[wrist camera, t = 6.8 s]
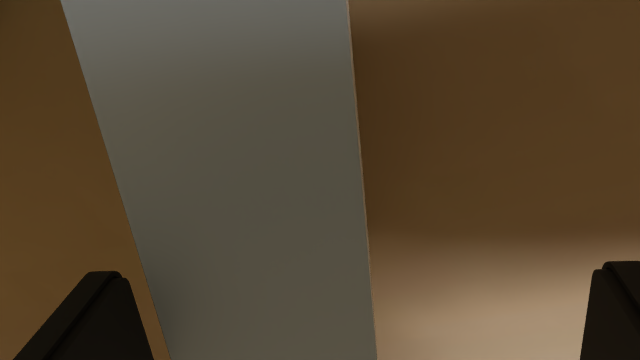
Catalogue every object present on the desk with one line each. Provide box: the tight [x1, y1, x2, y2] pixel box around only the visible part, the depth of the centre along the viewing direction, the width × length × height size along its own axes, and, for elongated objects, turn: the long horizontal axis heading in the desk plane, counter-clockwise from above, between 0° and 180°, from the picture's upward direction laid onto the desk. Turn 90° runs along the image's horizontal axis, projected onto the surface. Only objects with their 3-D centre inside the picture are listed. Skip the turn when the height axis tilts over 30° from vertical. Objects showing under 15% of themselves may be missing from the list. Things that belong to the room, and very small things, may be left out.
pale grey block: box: [61, 0, 377, 360], centre depth 12 cm, size 5×13×6 cm, turn 6°
